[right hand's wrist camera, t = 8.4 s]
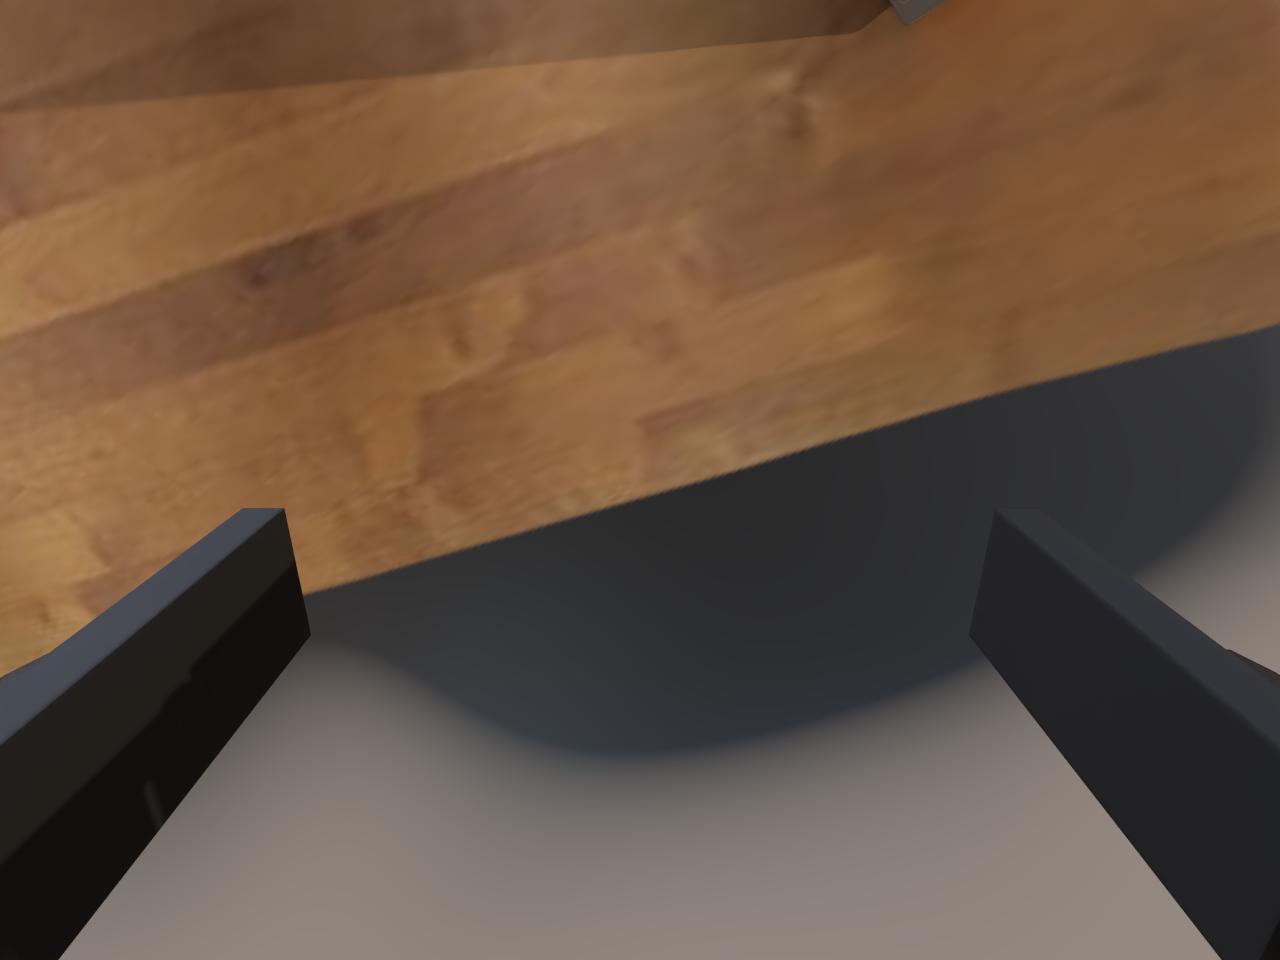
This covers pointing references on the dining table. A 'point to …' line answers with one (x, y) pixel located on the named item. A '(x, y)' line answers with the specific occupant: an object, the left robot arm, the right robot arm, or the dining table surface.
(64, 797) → the right robot arm
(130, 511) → the dining table surface
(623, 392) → the dining table surface
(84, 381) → the dining table surface
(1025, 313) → the dining table surface
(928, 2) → the hard drive box
